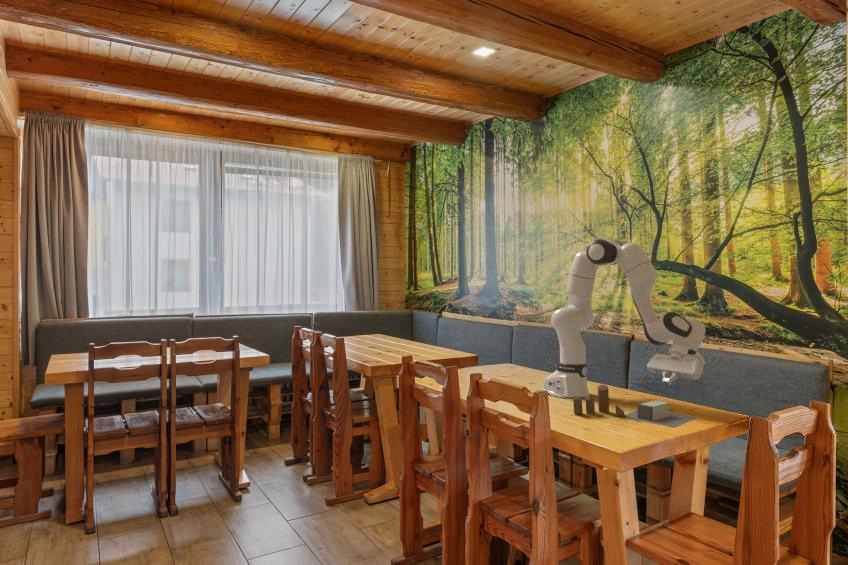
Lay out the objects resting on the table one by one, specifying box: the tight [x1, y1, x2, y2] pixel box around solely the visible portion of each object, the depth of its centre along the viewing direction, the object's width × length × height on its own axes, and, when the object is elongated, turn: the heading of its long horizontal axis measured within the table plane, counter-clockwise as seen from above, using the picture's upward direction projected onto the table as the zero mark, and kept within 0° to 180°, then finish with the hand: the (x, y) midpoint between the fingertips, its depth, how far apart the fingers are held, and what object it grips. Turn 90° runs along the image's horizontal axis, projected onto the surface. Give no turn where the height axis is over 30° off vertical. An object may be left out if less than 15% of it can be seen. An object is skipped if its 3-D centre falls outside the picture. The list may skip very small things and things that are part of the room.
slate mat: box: [619, 409, 698, 428], centre depth 203 cm, size 20×20×1 cm
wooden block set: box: [572, 384, 626, 418], centre depth 208 cm, size 18×9×10 cm, turn 76°
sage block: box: [637, 399, 670, 421], centre depth 203 cm, size 5×5×12 cm
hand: (665, 383), depth 208 cm, fingers closed
